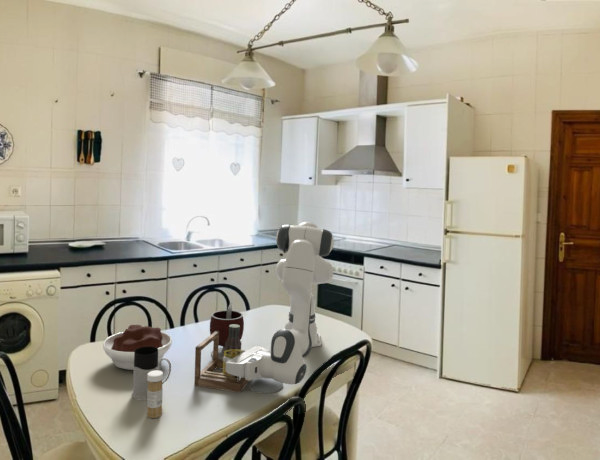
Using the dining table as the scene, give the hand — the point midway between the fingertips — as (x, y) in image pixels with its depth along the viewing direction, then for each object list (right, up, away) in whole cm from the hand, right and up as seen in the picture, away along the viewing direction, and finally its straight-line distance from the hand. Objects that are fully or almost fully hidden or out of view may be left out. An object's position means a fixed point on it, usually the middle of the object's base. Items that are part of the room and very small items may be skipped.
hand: (230, 355), depth 168 cm
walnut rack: (-1, -8, 0) cm, 9 cm away
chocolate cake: (-37, -6, +8) cm, 38 cm away
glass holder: (-23, -9, -16) cm, 30 cm away
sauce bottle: (0, -9, +1) cm, 9 cm away
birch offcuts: (-2, -9, -5) cm, 11 cm away
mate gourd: (-5, -6, +23) cm, 24 cm away
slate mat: (+14, -10, -4) cm, 17 cm away
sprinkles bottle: (-19, -11, -28) cm, 36 cm away
